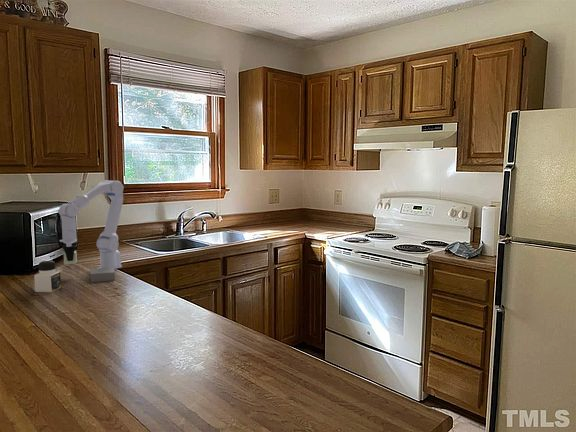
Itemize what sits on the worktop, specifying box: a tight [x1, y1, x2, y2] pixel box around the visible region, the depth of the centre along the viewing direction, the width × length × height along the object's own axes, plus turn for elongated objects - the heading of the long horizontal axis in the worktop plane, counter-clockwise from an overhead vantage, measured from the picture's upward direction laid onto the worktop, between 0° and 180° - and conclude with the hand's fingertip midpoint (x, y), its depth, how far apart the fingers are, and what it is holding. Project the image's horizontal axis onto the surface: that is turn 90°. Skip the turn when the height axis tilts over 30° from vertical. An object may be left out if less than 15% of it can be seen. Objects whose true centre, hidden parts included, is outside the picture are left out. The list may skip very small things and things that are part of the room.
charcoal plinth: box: [89, 267, 116, 283], centre depth 202 cm, size 10×10×4 cm
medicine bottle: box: [33, 260, 62, 293], centre depth 182 cm, size 7×7×12 cm
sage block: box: [63, 250, 78, 265], centre depth 202 cm, size 5×5×5 cm
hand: (70, 259), depth 202 cm, fingers closed on sage block, 5 cm apart
